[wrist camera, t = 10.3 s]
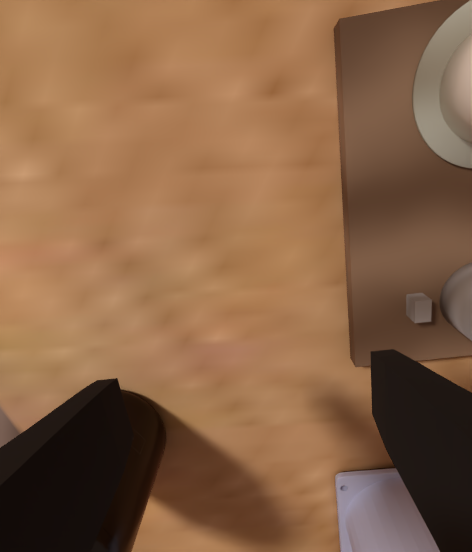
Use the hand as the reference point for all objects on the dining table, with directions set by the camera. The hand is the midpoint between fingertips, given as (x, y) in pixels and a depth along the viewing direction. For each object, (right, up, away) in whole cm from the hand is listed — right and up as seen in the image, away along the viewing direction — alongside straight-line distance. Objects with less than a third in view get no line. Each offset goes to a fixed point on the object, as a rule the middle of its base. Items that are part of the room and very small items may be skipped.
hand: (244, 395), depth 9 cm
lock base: (+12, +7, +8) cm, 16 cm away
